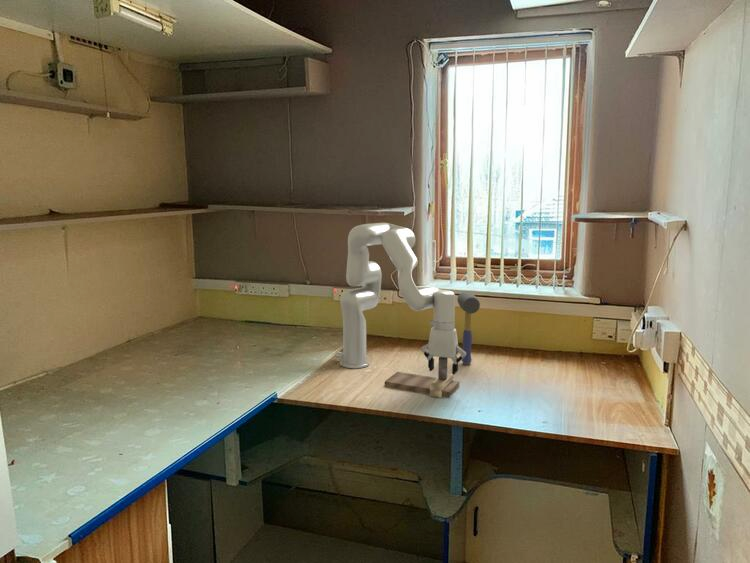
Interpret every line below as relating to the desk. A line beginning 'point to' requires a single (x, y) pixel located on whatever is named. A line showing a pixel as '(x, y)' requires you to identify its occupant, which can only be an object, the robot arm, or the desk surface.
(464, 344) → the rubber mallet
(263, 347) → the desk surface
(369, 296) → the robot arm
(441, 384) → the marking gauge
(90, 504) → the desk surface
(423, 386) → the walnut board
